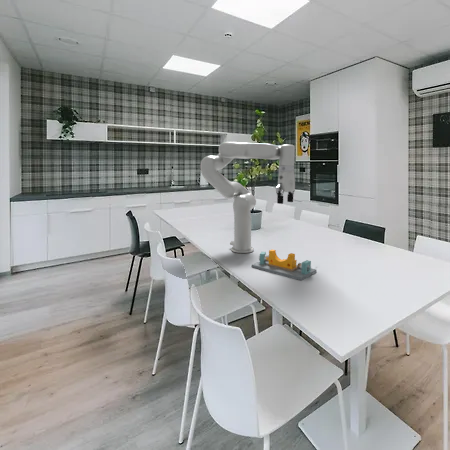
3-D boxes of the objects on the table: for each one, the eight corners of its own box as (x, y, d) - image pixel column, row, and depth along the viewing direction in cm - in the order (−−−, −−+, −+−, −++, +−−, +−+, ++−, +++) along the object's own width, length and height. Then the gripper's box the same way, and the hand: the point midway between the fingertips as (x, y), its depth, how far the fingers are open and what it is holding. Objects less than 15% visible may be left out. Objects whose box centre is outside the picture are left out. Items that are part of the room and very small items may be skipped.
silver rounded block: (297, 270, 135) (297, 263, 135) (300, 268, 138) (300, 261, 137) (306, 272, 132) (306, 265, 132) (309, 270, 135) (310, 264, 134)
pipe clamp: (296, 266, 140) (296, 253, 139) (291, 269, 137) (292, 255, 135) (273, 261, 147) (273, 248, 146) (268, 263, 144) (269, 250, 143)
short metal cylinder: (259, 261, 147) (259, 255, 147) (260, 260, 150) (260, 254, 149) (268, 262, 146) (268, 256, 145) (269, 260, 149) (269, 254, 148)
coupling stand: (251, 267, 146) (251, 254, 145) (268, 260, 156) (268, 248, 155) (300, 280, 129) (301, 266, 127) (316, 272, 139) (317, 258, 138)
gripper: (283, 169, 149) (282, 204, 152) (301, 169, 161) (299, 201, 165) (270, 169, 154) (269, 203, 157) (288, 169, 166) (287, 200, 170)
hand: (285, 202), depth 161 cm, fingers open, 9 cm apart
